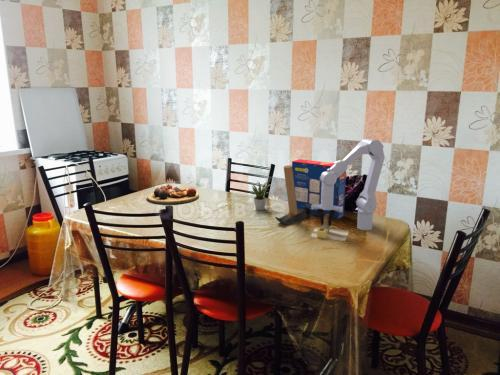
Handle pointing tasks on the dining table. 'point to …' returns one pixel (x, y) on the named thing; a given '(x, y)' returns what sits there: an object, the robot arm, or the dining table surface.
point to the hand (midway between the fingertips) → (326, 224)
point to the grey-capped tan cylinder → (326, 221)
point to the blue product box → (315, 185)
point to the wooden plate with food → (172, 195)
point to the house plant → (260, 196)
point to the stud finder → (322, 232)
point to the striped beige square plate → (332, 234)
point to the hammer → (292, 200)
